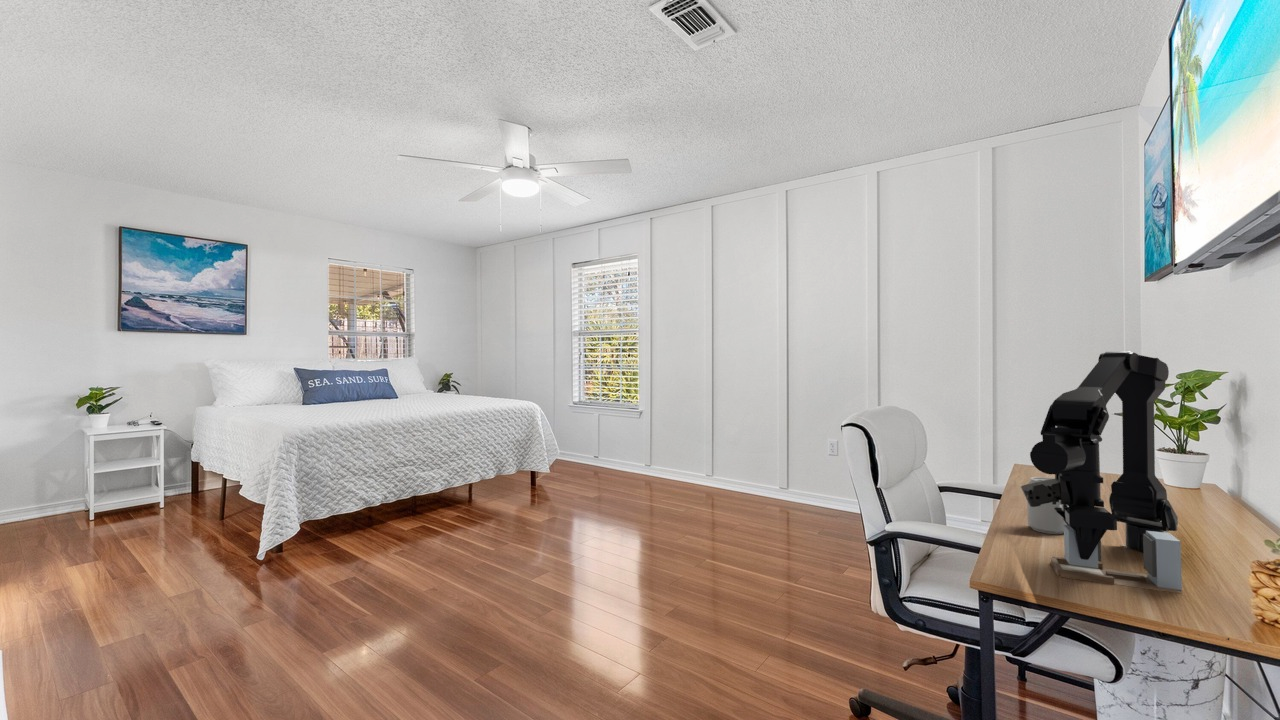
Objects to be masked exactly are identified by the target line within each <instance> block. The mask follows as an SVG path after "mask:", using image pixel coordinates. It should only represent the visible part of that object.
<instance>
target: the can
mask: <svg viewBox="0 0 1280 720" xmlns="http://www.w3.org/2000/svg"><path fill="white" fill-rule="evenodd" d="M1029 479H1030V481H1028V482H1027V484H1031V483H1035V482H1040V481H1044V480H1050V479H1055V477H1049V476H1048V477H1046V476H1032V477H1030V478H1029ZM1026 503H1027V524H1028V526H1029V527H1030V528H1031V529H1032V530H1034V531H1036V532H1039V533H1043V534H1049V535H1064V525H1067V524H1066V523H1065V521H1064V520H1063V519H1064V518H1063V517H1062V516H1061V515H1060V514H1059V513H1057V511H1056V510H1055V509H1054V508H1060V502H1056V505H1054V504H1052V503H1046V504H1041V505H1040V506H1037V507H1031V506H1030V505H1029V503H1028V502H1026Z"/></svg>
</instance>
